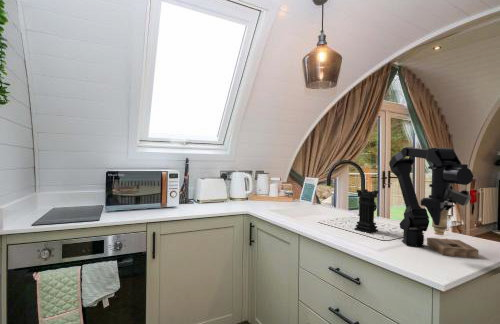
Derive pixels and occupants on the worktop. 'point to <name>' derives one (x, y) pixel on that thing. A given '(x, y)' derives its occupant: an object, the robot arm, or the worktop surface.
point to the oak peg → (441, 224)
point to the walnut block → (452, 247)
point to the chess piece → (366, 211)
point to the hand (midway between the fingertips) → (439, 224)
